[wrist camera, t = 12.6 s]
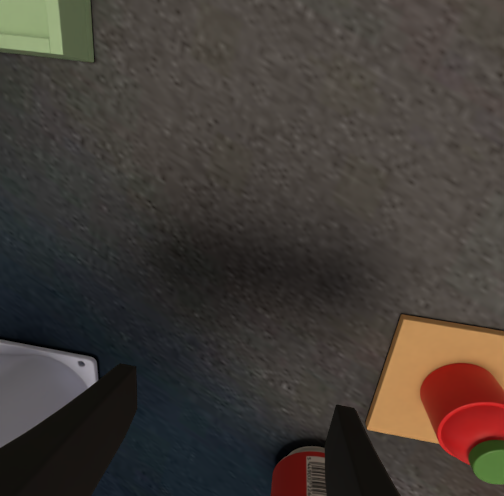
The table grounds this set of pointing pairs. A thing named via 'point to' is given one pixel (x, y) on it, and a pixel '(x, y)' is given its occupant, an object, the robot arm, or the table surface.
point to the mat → (427, 370)
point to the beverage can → (300, 473)
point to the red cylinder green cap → (468, 417)
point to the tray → (47, 28)
